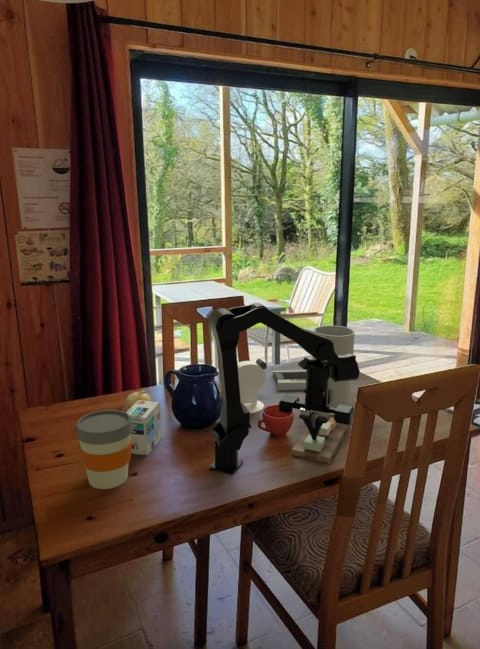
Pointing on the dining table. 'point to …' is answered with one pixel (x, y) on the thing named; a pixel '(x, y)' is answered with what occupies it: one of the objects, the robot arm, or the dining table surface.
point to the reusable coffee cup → (105, 447)
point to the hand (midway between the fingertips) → (314, 439)
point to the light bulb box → (145, 426)
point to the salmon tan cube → (332, 423)
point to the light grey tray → (290, 379)
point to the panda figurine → (251, 383)
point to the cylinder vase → (342, 346)
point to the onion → (136, 398)
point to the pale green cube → (314, 443)
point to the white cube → (325, 429)
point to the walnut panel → (329, 448)
